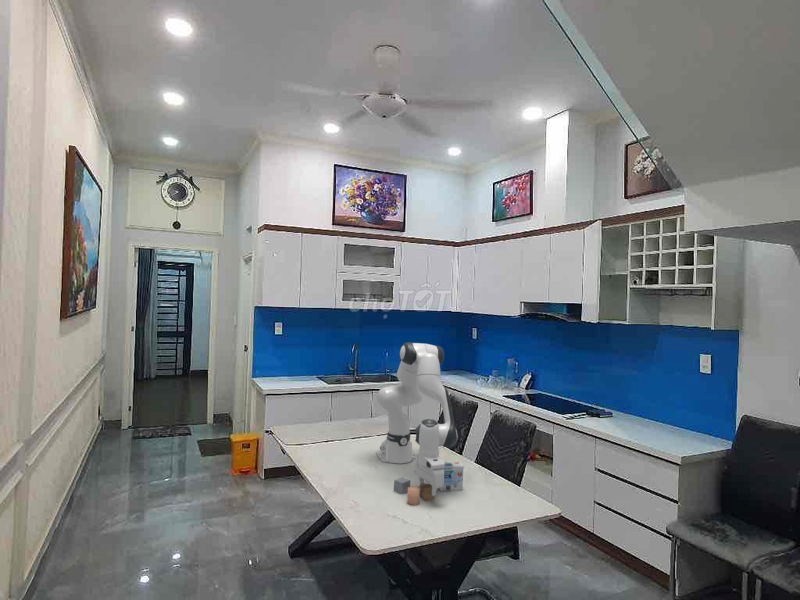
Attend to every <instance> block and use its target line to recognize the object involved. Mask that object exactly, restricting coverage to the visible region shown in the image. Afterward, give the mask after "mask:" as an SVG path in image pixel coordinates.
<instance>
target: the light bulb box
mask: <svg viewBox="0 0 800 600" xmlns="http://www.w3.org/2000/svg"><path fill="white" fill-rule="evenodd" d="M443 462H444V463H445V468H443V470H444V485H443V487H440V488H438V490H439V491H441V492H444V491H445V492H446V491H463V488H464V486H463V484H464V483H463V482H464V465H463V464H462V463H461V462H460V461H443Z"/></svg>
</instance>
